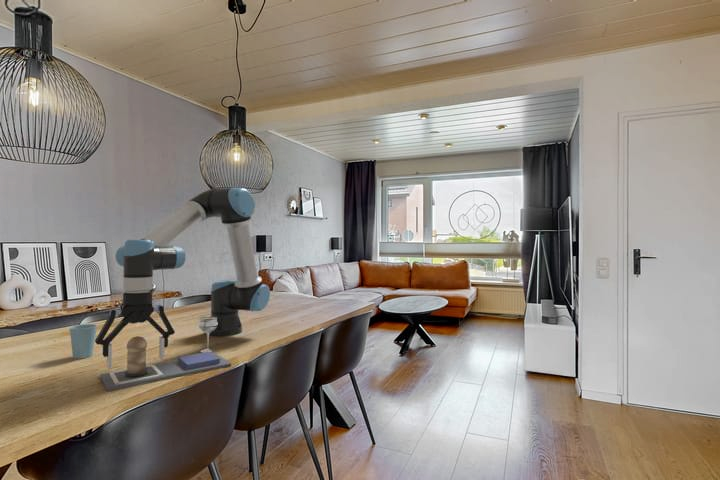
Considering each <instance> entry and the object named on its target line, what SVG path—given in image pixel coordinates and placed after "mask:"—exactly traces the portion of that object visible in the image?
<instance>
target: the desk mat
mask: <svg viewBox="0 0 720 480" xmlns="http://www.w3.org/2000/svg"><path fill="white" fill-rule="evenodd" d="M230 366H232V362H230V361H229V360H227V359H225V358H223V357H222V356H220V355H218V354H217V353H216V352H215V353H212V352H204V353H203V352H200V353H194V354H193V353H192V354H187V355H181V356H178V357H177V359H176V360H171V361H165V362H160V363H155V364H148V365H146V369H147V374H146V375H144V376H141V377H135V378H128V377H125V372H126V371H127V368H125V369H120V370H115V371H108V372H104V373H103V372H102V373H100V374H99V376H100V379H101V381H102V383H103V385H104V387H105V389H106V391H107V392H108V391H109V392H110V391H113V390H114V391H115V390H118V389H123V388H129V387H133V386H139V385H143V384H149V383H154V382H157V381H164V380H169V379H173V378H177V377H182V376H188V375H192V374H197V373H202V372H208V371H211V370H216V369H221V368H226V367H230Z"/></svg>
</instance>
